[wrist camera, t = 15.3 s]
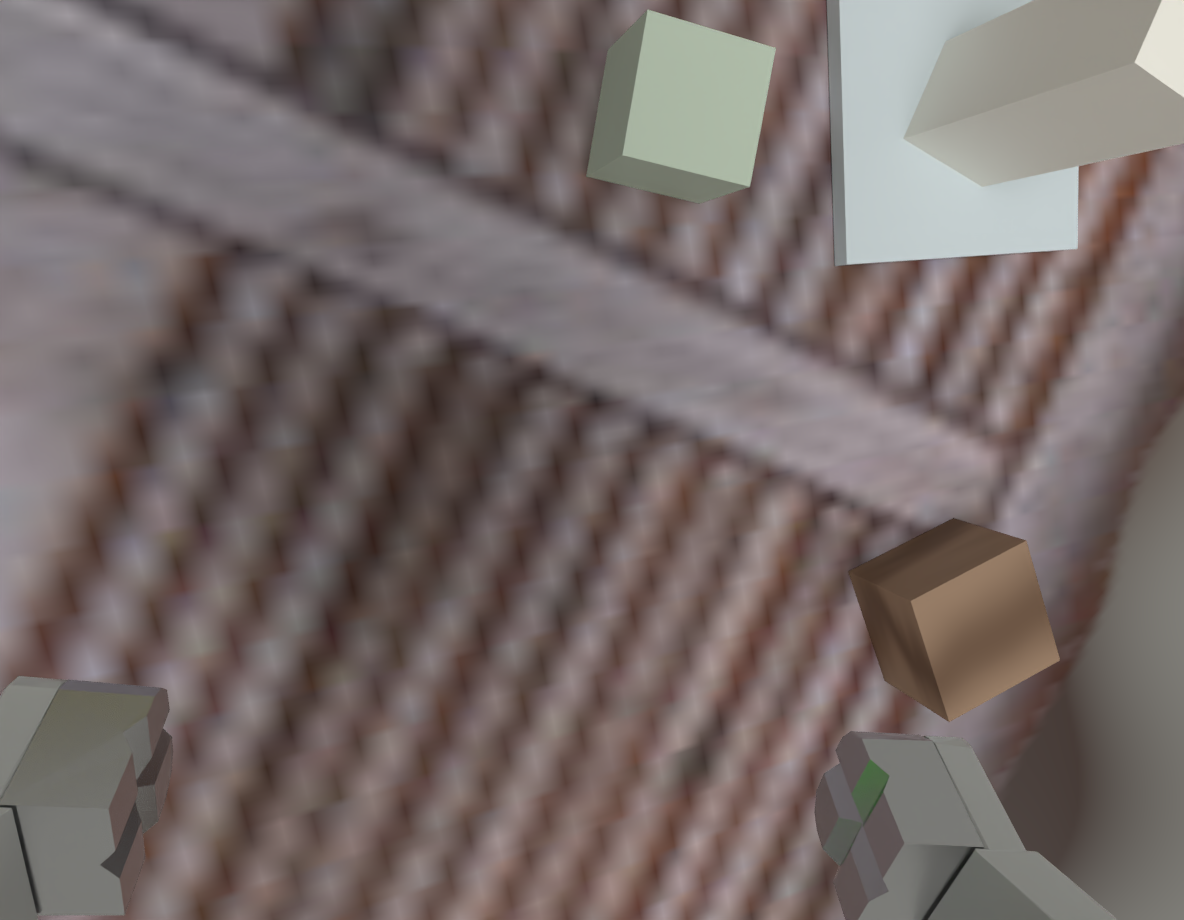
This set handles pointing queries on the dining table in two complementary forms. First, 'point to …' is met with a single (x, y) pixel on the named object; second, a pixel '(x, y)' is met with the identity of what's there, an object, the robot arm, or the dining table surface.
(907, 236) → the tile
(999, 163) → the cream block
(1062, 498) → the dining table surface
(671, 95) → the sage cube
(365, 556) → the dining table surface
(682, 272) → the dining table surface
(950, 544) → the walnut block
